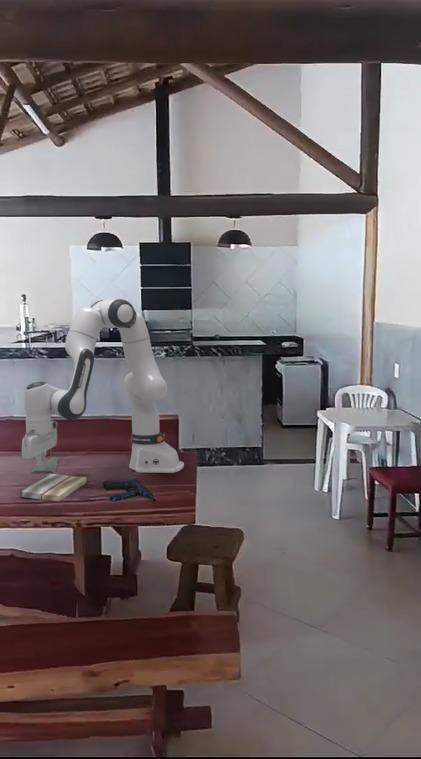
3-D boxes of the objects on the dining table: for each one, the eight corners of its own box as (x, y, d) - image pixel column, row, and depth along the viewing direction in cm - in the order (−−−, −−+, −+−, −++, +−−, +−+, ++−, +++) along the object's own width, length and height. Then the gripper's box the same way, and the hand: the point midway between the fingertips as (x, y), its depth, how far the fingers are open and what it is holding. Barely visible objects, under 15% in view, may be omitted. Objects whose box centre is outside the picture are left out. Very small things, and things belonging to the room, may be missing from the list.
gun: (116, 510, 217) (158, 503, 223) (116, 502, 216) (158, 495, 223) (98, 488, 238) (137, 482, 244) (98, 480, 238) (137, 475, 244)
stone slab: (30, 478, 255) (56, 473, 256) (29, 471, 255) (55, 467, 256) (37, 463, 277) (60, 459, 278) (36, 457, 277) (59, 453, 278)
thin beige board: (86, 482, 243) (86, 477, 243) (59, 501, 222) (59, 495, 222) (69, 481, 245) (69, 476, 245) (42, 499, 224) (41, 494, 223)
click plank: (68, 481, 245) (69, 475, 245) (41, 499, 224) (41, 493, 223) (49, 478, 247) (49, 473, 246) (20, 496, 226) (20, 491, 225)
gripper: (32, 434, 222) (34, 473, 224) (59, 421, 241) (61, 457, 243) (15, 433, 223) (18, 472, 225) (44, 421, 243) (45, 456, 245)
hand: (40, 464), depth 235 cm, fingers closed
